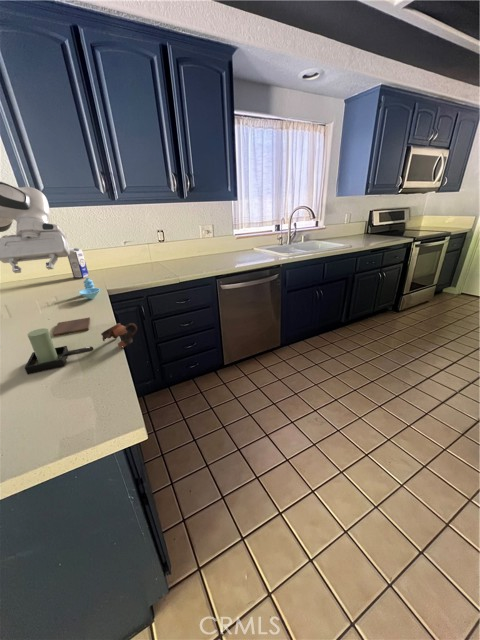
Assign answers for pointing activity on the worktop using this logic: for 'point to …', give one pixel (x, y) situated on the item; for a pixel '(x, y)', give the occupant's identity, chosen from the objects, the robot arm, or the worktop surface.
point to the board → (72, 326)
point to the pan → (50, 365)
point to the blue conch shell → (89, 289)
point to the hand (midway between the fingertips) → (33, 270)
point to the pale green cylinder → (43, 345)
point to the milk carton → (77, 263)
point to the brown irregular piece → (121, 333)
